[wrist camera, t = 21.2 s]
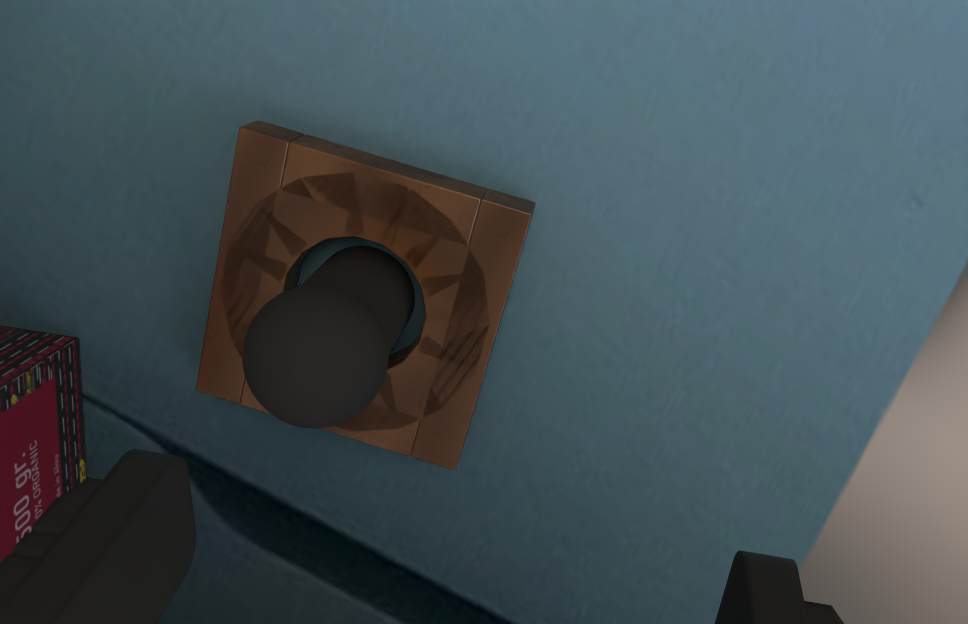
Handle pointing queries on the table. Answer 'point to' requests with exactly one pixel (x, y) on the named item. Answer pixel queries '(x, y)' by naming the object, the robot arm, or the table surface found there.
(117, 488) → the robot arm
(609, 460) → the table surface
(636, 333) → the table surface
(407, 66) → the table surface
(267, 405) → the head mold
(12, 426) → the box
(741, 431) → the table surface
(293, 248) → the display base
